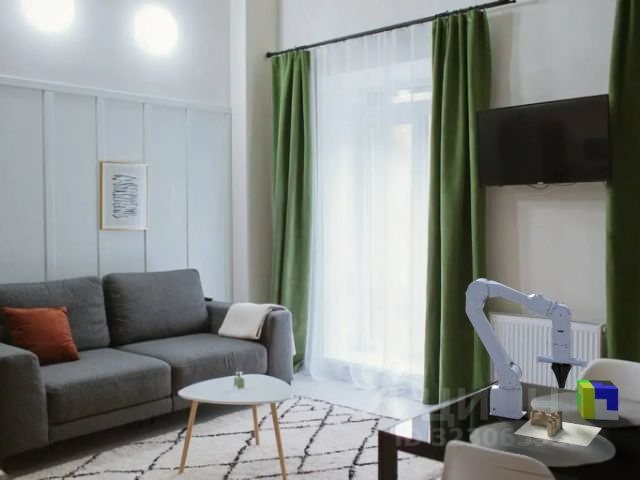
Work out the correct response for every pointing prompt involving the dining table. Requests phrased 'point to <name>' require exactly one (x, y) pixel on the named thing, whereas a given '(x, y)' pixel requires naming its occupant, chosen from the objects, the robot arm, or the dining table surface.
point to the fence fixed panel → (543, 418)
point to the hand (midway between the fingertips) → (561, 387)
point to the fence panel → (553, 425)
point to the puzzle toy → (597, 399)
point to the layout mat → (561, 433)
